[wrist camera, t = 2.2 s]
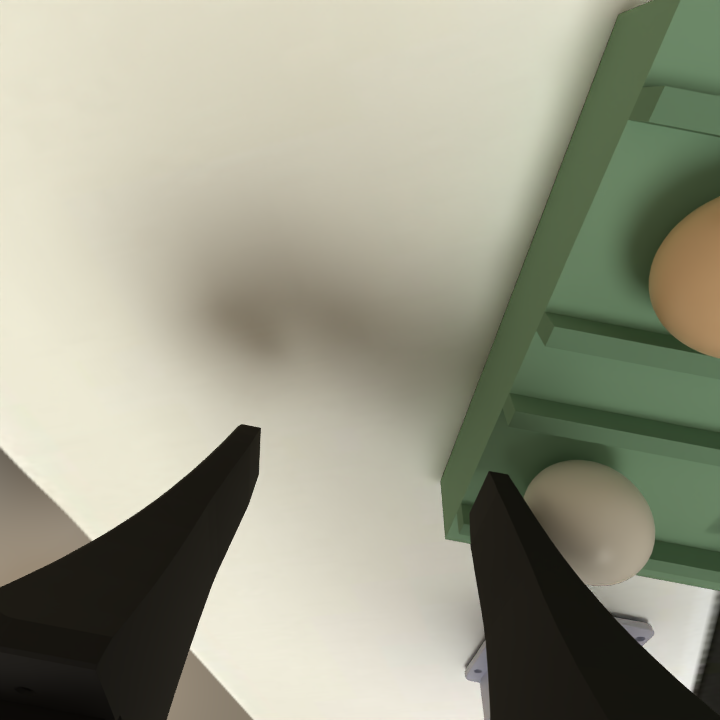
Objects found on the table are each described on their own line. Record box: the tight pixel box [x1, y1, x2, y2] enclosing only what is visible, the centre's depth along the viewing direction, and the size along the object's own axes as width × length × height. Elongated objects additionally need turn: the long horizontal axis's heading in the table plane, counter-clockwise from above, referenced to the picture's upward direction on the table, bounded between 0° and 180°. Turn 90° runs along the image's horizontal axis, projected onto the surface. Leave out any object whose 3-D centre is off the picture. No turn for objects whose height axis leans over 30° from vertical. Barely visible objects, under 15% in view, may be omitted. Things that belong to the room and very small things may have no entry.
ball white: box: [524, 460, 655, 586], centre depth 13 cm, size 4×4×4 cm
